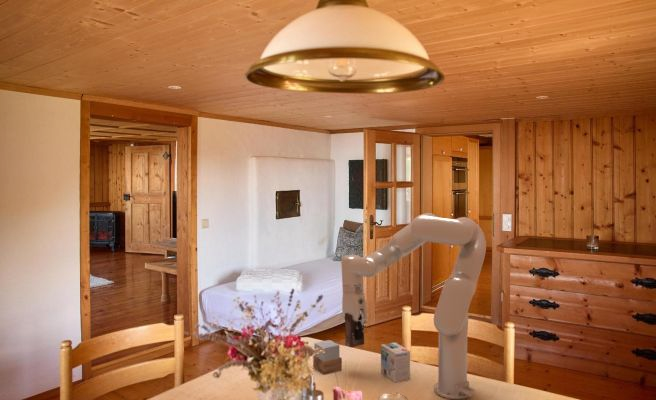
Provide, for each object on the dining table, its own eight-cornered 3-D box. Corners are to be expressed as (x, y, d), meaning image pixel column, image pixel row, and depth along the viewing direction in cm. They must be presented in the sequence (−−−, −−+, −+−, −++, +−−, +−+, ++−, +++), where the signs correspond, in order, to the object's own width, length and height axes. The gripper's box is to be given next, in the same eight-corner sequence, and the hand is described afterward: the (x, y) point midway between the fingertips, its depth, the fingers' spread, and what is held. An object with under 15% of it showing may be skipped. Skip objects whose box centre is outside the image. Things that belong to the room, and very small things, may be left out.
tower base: (341, 370, 186) (341, 358, 186) (323, 375, 182) (323, 362, 182) (330, 364, 193) (330, 351, 193) (313, 368, 189) (313, 355, 189)
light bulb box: (380, 372, 185) (380, 344, 184) (395, 369, 187) (395, 341, 187) (394, 383, 175) (394, 353, 174) (410, 379, 177) (410, 350, 177)
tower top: (339, 357, 186) (339, 344, 186) (323, 361, 183) (323, 348, 183) (329, 352, 192) (329, 339, 192) (314, 355, 189) (314, 343, 189)
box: (352, 348, 177) (350, 315, 177) (345, 345, 181) (343, 313, 181) (365, 344, 181) (364, 312, 180) (358, 341, 184) (356, 310, 184)
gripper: (374, 290, 175) (376, 341, 176) (348, 283, 190) (350, 330, 190) (357, 293, 171) (359, 345, 172) (332, 286, 186) (334, 334, 186)
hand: (354, 336), depth 181 cm, fingers closed on box, 4 cm apart
